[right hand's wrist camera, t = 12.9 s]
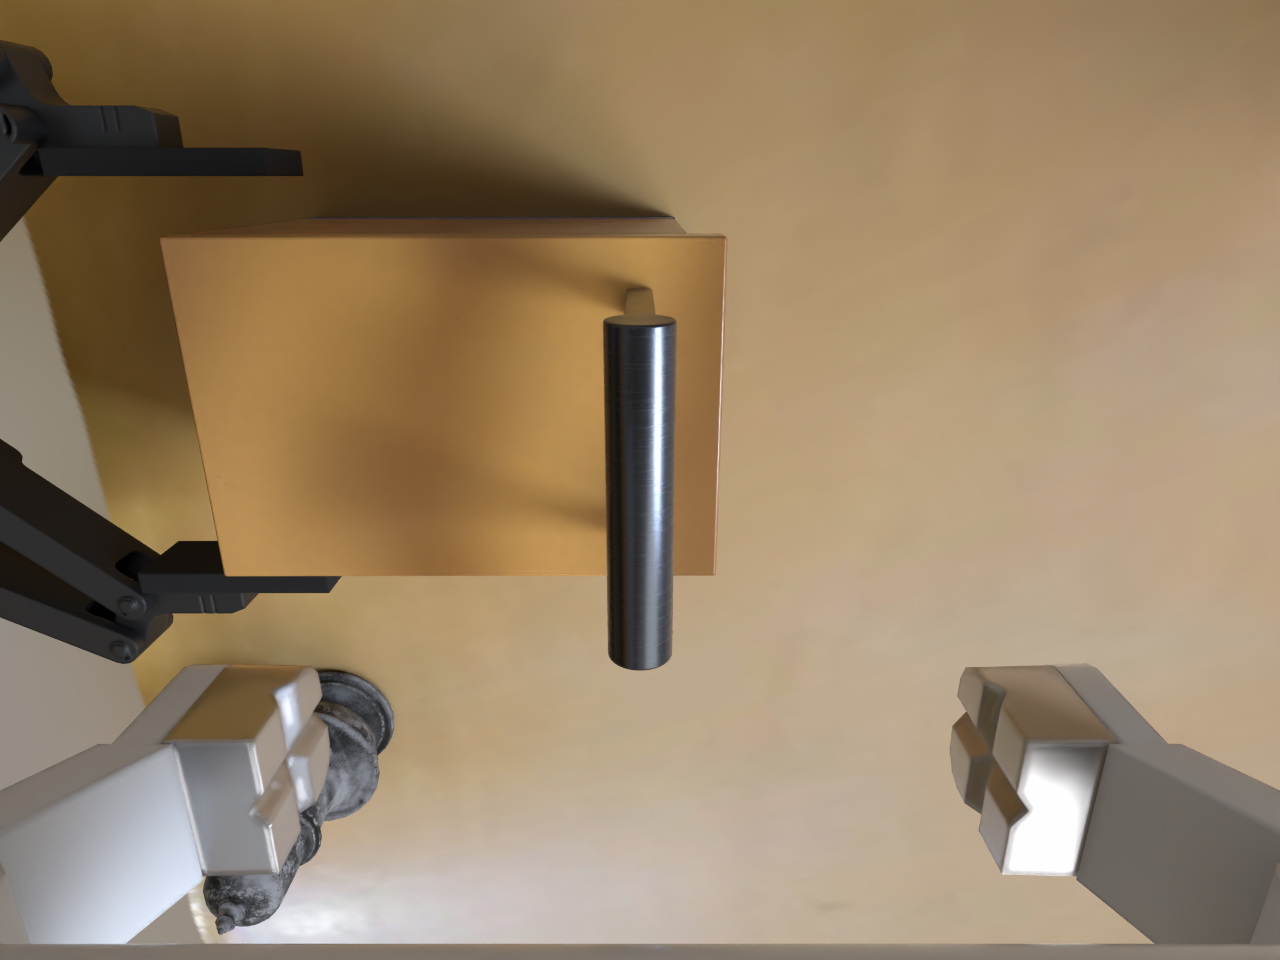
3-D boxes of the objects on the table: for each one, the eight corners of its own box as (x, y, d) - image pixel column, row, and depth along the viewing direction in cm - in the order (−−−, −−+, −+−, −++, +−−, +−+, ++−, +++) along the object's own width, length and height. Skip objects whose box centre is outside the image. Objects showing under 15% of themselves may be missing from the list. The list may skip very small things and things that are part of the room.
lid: (723, 233, 22) (766, 260, 15) (712, 560, 26) (743, 715, 18) (179, 233, 22) (-51, 261, 15) (240, 560, 26) (78, 717, 18)
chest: (673, 216, 32) (688, 233, 22) (670, 457, 35) (682, 559, 26) (316, 217, 32) (179, 233, 22) (347, 457, 35) (240, 560, 26)
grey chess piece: (317, 783, 41) (195, 1013, 30) (253, 691, 39) (97, 899, 28) (422, 745, 40) (337, 966, 29) (362, 648, 38) (246, 845, 27)
